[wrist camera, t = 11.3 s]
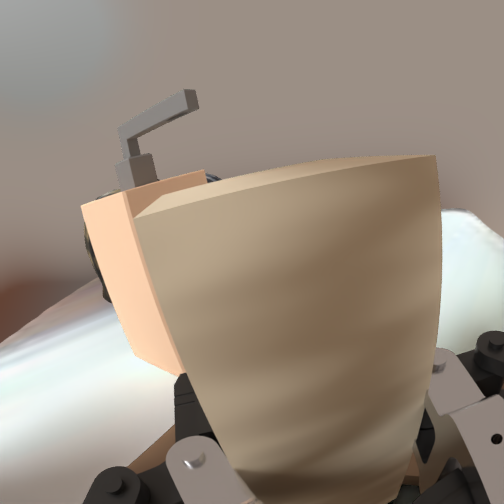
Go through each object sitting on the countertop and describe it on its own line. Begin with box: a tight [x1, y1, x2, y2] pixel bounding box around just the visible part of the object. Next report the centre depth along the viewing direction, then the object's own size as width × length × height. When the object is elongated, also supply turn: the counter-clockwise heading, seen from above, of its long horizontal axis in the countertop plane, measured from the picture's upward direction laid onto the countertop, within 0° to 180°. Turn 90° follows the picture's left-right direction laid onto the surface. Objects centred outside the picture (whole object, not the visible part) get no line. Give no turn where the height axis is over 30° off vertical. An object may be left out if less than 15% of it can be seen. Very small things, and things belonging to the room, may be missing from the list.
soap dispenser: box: [81, 89, 207, 377], centre depth 25 cm, size 13×9×22 cm
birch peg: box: [133, 155, 442, 504], centre depth 8 cm, size 5×5×16 cm
